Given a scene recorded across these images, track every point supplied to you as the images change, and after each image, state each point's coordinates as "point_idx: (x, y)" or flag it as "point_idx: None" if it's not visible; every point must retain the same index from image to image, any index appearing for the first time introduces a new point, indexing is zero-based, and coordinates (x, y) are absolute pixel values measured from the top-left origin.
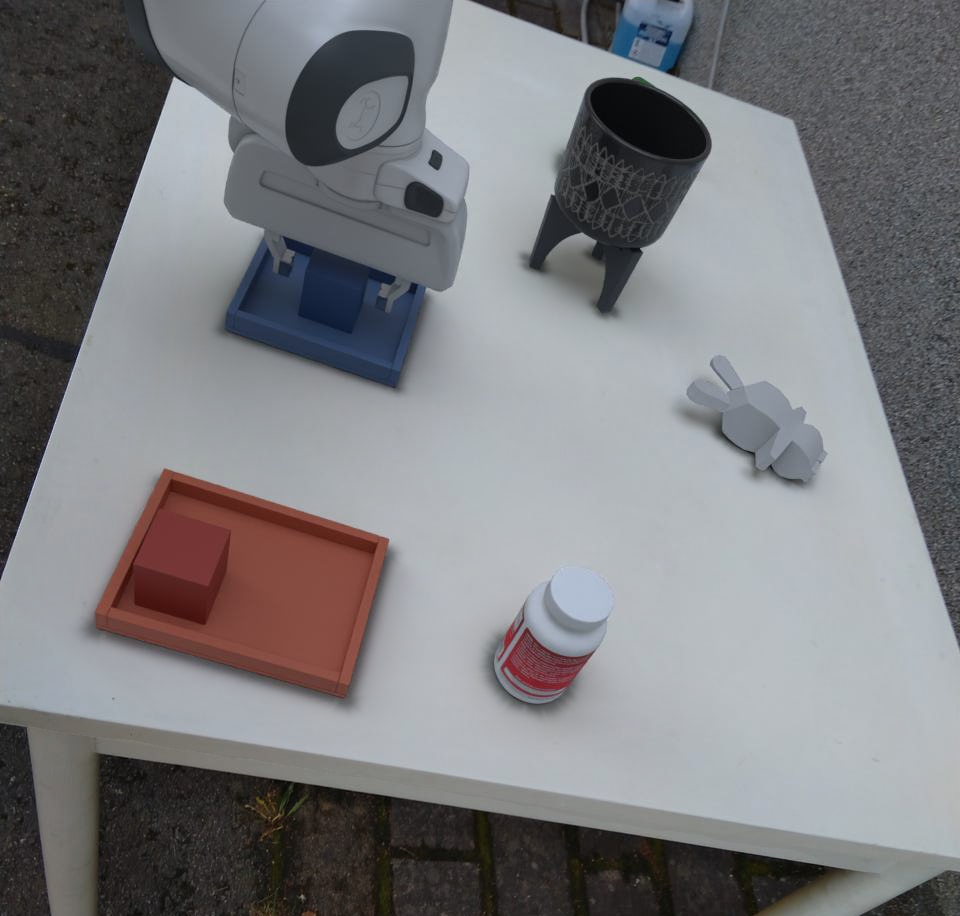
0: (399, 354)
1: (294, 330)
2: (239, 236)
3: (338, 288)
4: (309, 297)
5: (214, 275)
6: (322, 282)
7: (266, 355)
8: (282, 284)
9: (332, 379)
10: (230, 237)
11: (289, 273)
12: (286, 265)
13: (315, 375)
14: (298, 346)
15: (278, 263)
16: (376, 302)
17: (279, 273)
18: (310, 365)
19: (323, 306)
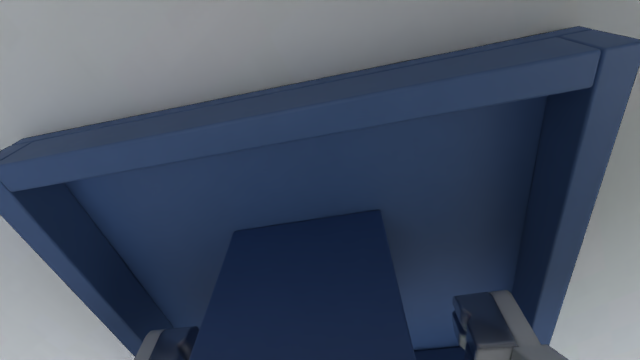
0: (33, 232)
1: (350, 123)
2: (574, 322)
3: (268, 351)
4: (364, 268)
5: (627, 210)
6: (333, 346)
7: (405, 4)
8: (453, 270)
9: (169, 48)
10: (594, 313)
11: (458, 310)
12: (484, 334)
13: (220, 26)
14: (317, 89)
15: (513, 329)
16: (186, 345)
17: (487, 296)
18: (260, 61)
19: (314, 262)
